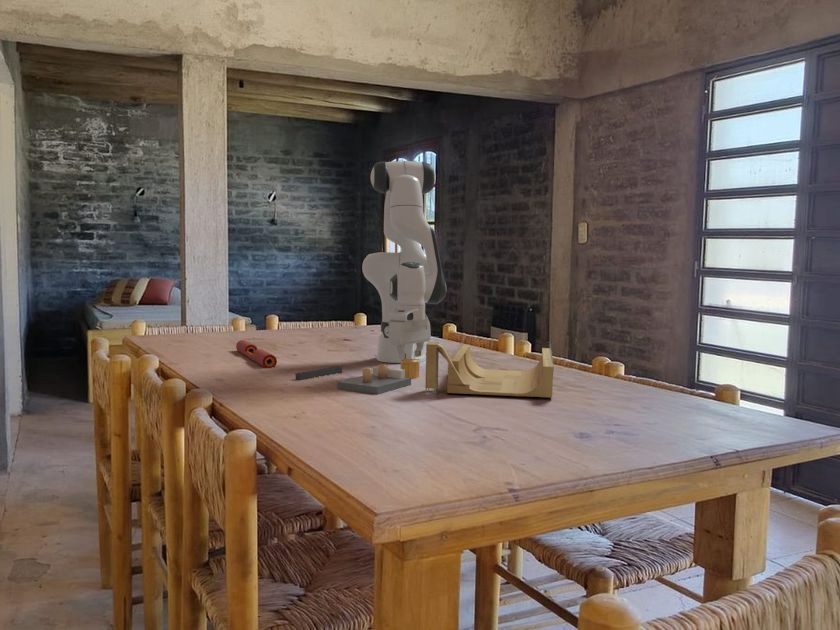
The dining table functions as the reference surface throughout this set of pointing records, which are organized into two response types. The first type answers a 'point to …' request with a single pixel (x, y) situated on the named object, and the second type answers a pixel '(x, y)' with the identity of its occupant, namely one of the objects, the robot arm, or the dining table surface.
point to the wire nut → (410, 368)
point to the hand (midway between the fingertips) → (410, 357)
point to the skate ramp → (488, 374)
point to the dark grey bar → (318, 373)
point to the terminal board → (376, 380)
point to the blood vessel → (256, 354)
